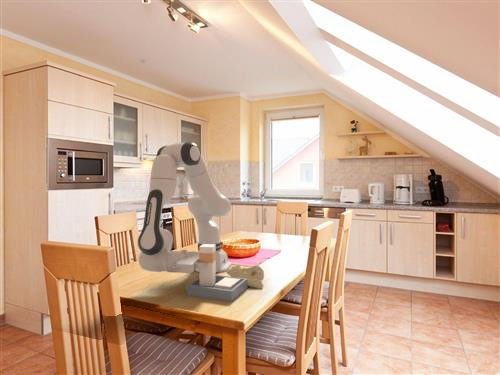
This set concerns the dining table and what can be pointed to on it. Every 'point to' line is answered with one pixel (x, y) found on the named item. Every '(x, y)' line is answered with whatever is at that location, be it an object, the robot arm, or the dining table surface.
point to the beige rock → (248, 275)
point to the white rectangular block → (227, 283)
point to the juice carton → (208, 274)
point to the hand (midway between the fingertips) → (209, 262)
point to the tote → (217, 289)
